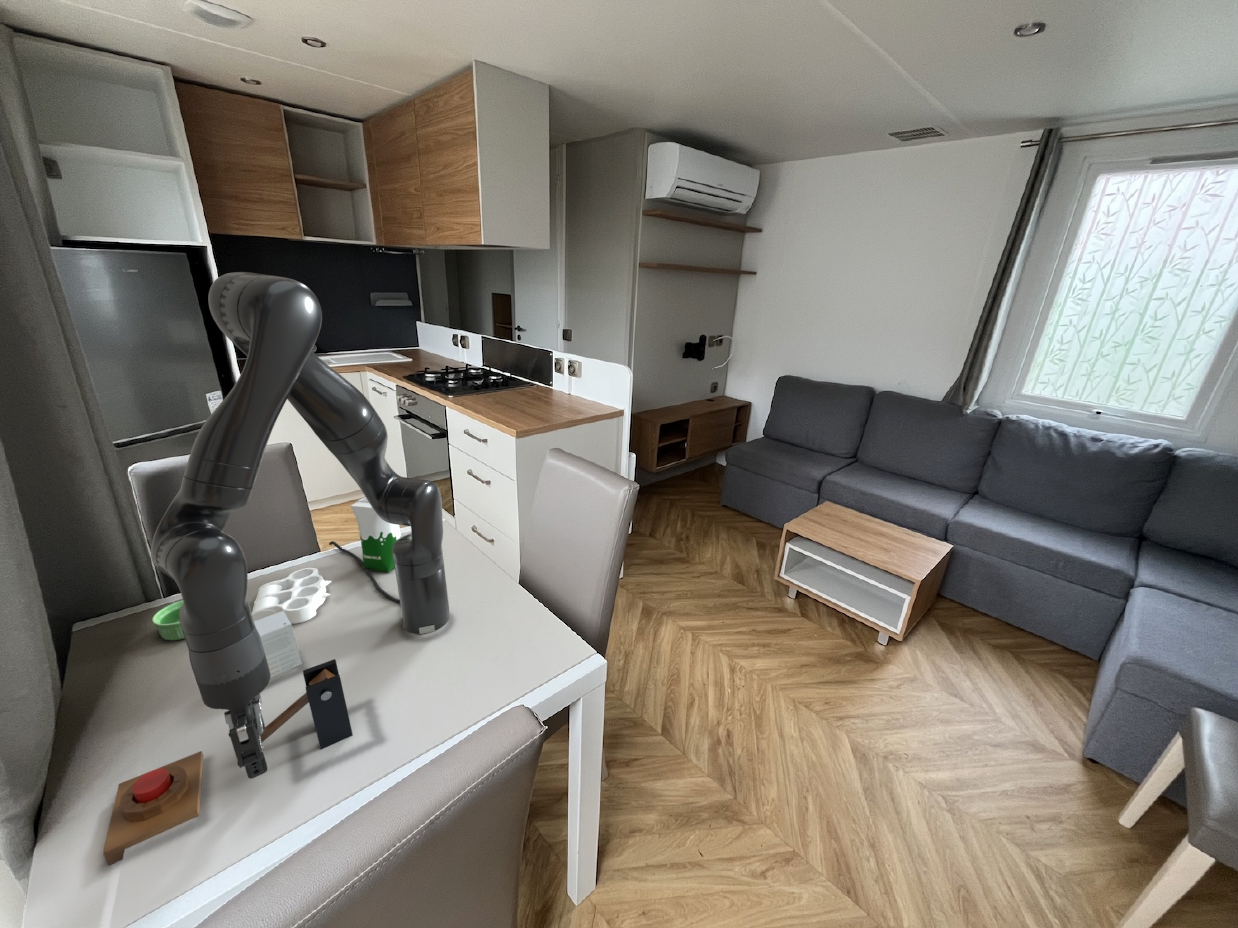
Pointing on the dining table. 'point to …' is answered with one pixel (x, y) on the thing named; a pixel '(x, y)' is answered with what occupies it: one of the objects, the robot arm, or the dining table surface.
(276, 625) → the small box
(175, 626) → the ramekin
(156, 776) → the button
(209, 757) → the dining table surface
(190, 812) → the button block
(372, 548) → the milk carton
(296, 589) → the white brass knuckles
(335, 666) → the bracket
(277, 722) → the lever
